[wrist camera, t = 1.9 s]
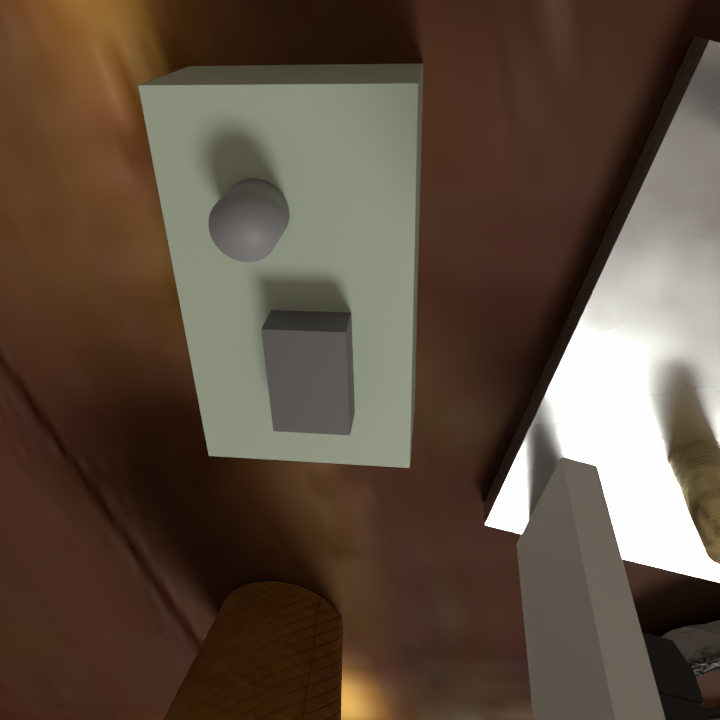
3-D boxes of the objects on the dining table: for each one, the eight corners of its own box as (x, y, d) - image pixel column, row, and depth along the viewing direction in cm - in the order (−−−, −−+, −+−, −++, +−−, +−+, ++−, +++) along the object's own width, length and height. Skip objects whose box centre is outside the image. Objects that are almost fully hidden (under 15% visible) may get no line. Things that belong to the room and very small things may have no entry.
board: (240, 391, 26) (195, 483, 21) (192, 64, 19) (113, 94, 15) (415, 399, 25) (407, 497, 20) (423, 62, 19) (415, 93, 14)
